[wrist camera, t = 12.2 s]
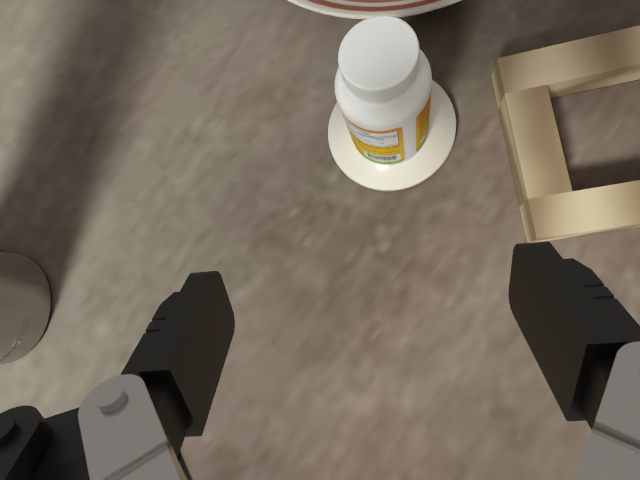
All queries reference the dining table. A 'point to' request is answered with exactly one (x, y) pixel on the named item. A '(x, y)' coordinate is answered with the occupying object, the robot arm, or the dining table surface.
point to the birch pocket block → (543, 138)
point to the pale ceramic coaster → (406, 172)
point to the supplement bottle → (384, 89)
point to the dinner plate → (372, 7)
